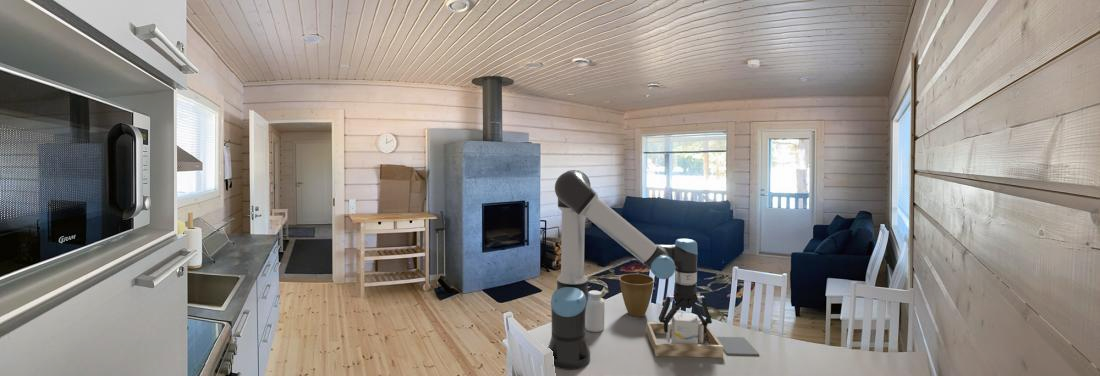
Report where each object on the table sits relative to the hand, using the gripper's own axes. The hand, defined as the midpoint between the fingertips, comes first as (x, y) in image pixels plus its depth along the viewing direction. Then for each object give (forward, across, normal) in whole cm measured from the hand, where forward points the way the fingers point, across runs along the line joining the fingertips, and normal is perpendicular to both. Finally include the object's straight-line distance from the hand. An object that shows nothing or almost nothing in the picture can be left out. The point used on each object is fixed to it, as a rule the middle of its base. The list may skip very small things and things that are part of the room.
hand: (684, 341), depth 148 cm
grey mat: (+3, +19, +2) cm, 19 cm away
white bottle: (+3, -32, +15) cm, 35 cm away
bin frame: (+3, 0, +3) cm, 4 cm away
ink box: (+3, 0, 0) cm, 3 cm away
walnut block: (+3, +8, +8) cm, 12 cm away
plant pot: (+3, -13, +31) cm, 34 cm away
